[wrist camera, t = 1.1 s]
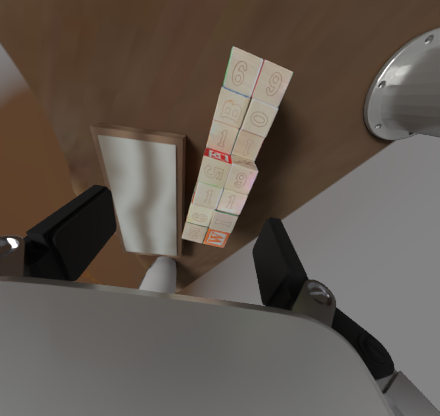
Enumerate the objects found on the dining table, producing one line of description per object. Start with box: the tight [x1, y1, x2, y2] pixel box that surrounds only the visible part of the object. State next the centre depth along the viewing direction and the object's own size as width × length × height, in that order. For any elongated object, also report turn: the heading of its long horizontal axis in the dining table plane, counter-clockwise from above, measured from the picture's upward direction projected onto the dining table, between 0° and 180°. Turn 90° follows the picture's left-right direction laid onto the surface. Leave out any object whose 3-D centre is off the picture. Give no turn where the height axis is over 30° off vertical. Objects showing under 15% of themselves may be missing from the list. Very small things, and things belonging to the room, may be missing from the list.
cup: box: [138, 256, 176, 294], centre depth 40 cm, size 8×8×10 cm
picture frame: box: [90, 123, 186, 258], centre depth 32 cm, size 13×26×3 cm, turn 172°
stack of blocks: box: [182, 46, 293, 248], centre depth 23 cm, size 21×6×12 cm, turn 162°
